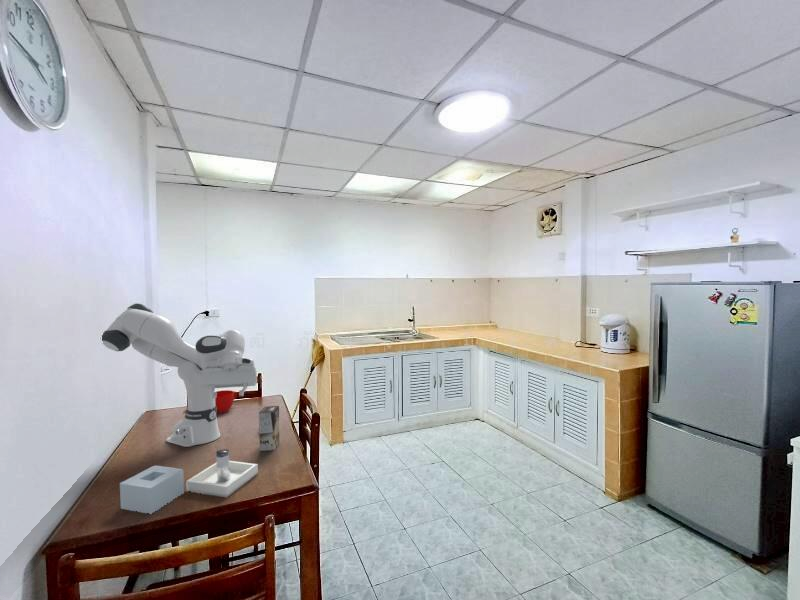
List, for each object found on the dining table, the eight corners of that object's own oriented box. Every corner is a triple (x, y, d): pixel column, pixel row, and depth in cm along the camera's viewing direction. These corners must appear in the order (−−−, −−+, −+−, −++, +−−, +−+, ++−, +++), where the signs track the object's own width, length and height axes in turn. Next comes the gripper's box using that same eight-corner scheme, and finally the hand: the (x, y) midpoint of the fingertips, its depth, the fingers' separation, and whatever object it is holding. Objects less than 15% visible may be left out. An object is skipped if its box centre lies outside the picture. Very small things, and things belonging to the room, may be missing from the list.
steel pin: (214, 482, 129) (213, 453, 129) (222, 476, 133) (221, 448, 132) (224, 483, 128) (223, 454, 128) (232, 477, 132) (231, 449, 131)
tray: (186, 491, 125) (186, 481, 124) (221, 468, 140) (220, 459, 140) (226, 497, 120) (226, 487, 120) (257, 473, 136) (257, 464, 136)
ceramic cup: (245, 407, 214) (244, 389, 213) (220, 416, 198) (219, 397, 198) (228, 404, 219) (228, 387, 219) (203, 413, 204) (202, 395, 203)
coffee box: (275, 450, 155) (274, 412, 155) (259, 451, 155) (258, 413, 154) (280, 441, 165) (279, 405, 164) (265, 442, 164) (264, 406, 163)
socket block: (120, 508, 115) (119, 483, 115) (155, 488, 127) (154, 465, 127) (151, 514, 112) (150, 488, 112) (184, 492, 124) (183, 469, 123)
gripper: (201, 362, 144) (195, 394, 135) (257, 359, 151) (255, 390, 142) (203, 371, 149) (198, 402, 140) (258, 368, 155) (256, 398, 146)
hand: (227, 396), depth 141 cm, fingers open, 8 cm apart
